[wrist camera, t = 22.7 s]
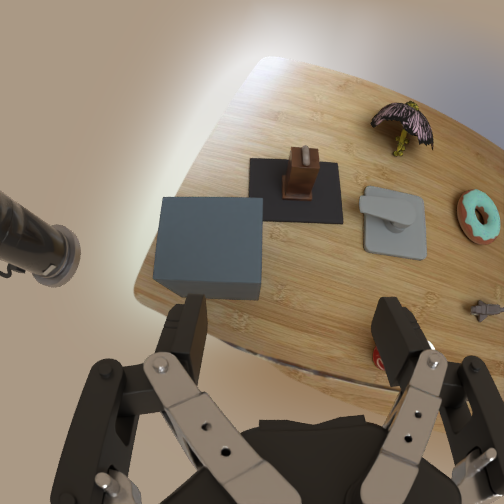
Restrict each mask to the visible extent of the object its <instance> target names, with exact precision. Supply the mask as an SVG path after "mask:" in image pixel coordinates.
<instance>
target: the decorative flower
mask: <svg viewBox="0 0 504 504" xmlns="http://www.w3.org/2000/svg"><path fill="white" fill-rule="evenodd" d="M385 119H386V120H387V121H388V120H391V121H392V120H395V121H400V122H401V124H402V125H403V130H402V133H401V136H400V137H399V136H396V137H395V140H396V141H399V143H398V148H397V151H394V153H393V155H394V156H398V155H399V156H402V155H403V152H402V151H404V150H405V146H403V145H404V143H405V144H408V143H409V140H408V139H405V138H406V135H407V132H408V133H409V134H410V135H414V136H417V137H418V141H419V145H420V144H421V143H424V144H425V145H426V146H427V144H428V145H429V144H431V146H432V150H433V134H432V130H431V127H430V125H429V122H428V121H427V119H426V117H425V116H424V115H423V114H422V113H421V112H420V111H419V108H418V106H417V104H416V103H414V102H412V101H409V102H407V103H405V104H403V103H392V104H389V105H387V106H385V107H383V108H382V109H381V110H380V111H379V112H378V113H377V114H376V115H375V116H374V118H373V119H372V122H371V123H370V124H371V126H372V127H376V126H378V125H379V124H380V123H381V122H382V121H384V120H385ZM400 150H402V151H400Z"/></svg>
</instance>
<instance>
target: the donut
mask: <svg viewBox="0 0 504 504" xmlns="http://www.w3.org/2000/svg"><path fill="white" fill-rule="evenodd" d="M475 208H476V209H477V210H478V211H479V212H480V213H481V215H482V217H483V220H484V225H482V224H481V223H480V222H479V221H478V219H477V217H476V215H475ZM457 215H458V220H459V223H460V225H461V228H462V230H463V231H464V233H465V234H466V235H467V236H468V238H469V239H471V240H472V241H473V242H475V243H477V244H481V245H487V244H490V243H492V242H493V241H494V240H495V239H496V238H497V236H498V234H499V231H500V217H499V213H498V210H497V208H496V206H495V204H494V203H493V201H492V200H491V199H490V198H489V197H488V196H487V195H486V194H485V193H483V192H481V191H479V190H477V189H471V190H468V191H466V192H464V193H463V194H462V195H461V197H460V199H459V201H458V204H457Z"/></svg>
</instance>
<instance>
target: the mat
mask: <svg viewBox="0 0 504 504" xmlns="http://www.w3.org/2000/svg"><path fill="white" fill-rule="evenodd" d="M288 161H289V160H287V159H262V158H250V182H249V198H263V221H273V222H301V223H324V224H343V212H342V200H341V190H340V180H339V171H338V163H332V162H319V164H320V169H319V172H318V175H317V177H316V180H315V183H314V185H313V188H312V201H296V200H282V175H285V176H286V172H287V166H288Z"/></svg>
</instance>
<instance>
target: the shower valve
mask: <svg viewBox="0 0 504 504" xmlns="http://www.w3.org/2000/svg"><path fill="white" fill-rule="evenodd" d="M359 209H360V212H361V213H364V249H365V251H367V252H369V253H375V254H381V255H388V256H394V257H401V258H407V259H414V260H423V259H425V258H426V256H427V246H426V225H425V211H424V202H423V199H422V198H421V197H419V196H415V195H411V194H406V193H402V192H397V191H393V190H388V189H384V188H379V187H374V186H367V187H366V189H365V190H364V196H360V199H359Z"/></svg>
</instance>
